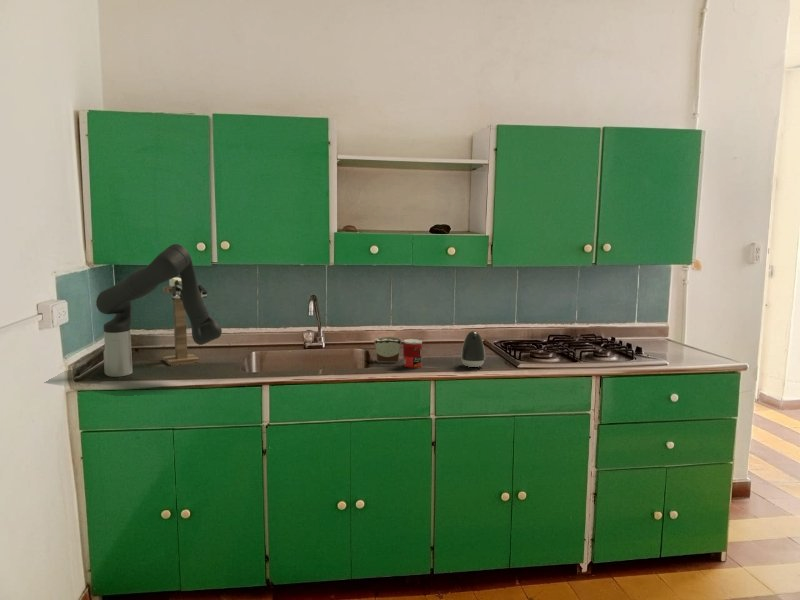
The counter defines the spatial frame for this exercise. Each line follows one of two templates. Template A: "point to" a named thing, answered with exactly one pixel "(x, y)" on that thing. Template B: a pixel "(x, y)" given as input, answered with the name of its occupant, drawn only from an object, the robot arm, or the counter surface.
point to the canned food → (412, 353)
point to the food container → (387, 349)
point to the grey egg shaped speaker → (473, 350)
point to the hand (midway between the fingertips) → (183, 281)
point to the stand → (179, 334)
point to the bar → (172, 281)
